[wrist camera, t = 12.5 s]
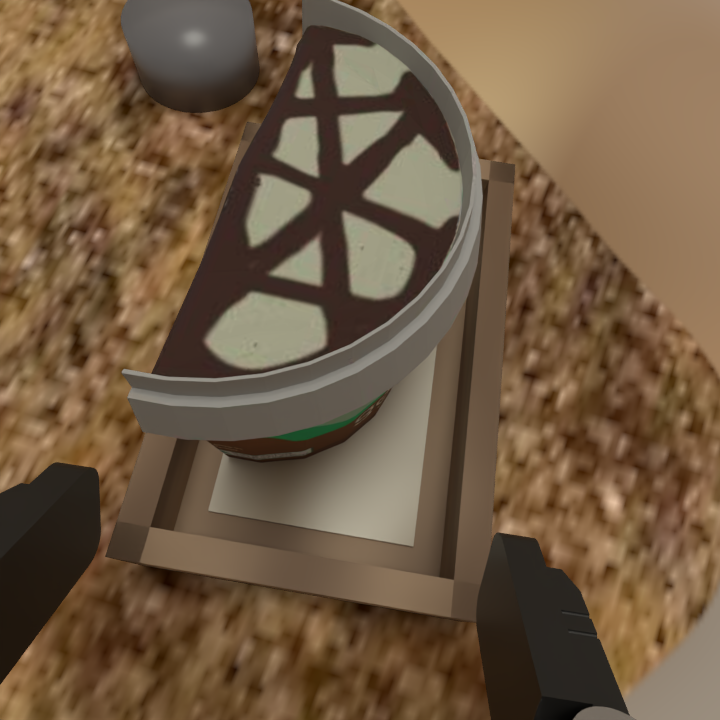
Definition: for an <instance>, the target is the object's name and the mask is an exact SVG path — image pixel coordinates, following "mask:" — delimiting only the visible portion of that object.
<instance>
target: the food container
mask: <svg viewBox="0 0 720 720" xmlns="http://www.w3.org/2000/svg"><path fill="white" fill-rule="evenodd" d="M302 25H303V36H302V39H301V40H300V41H299V43H298V44H297V48H296V53H295V56H294V58H293V61H292V64H291V66H290V69H289V71H288V73H287V75H286V77H285V79H284V81H283V83H282V86H281V88H280V90H279V92H278V94H277V96H276V98H275V100H274V102H273V104H272V106H271V108H270V110H269V112H268V114H267V116H266V117H265V119H264V121H263V122H262V124H261V126H260V128H259V129H258V131H257V133H256V134H255V136H254V138H253V140H252V141H251V143H250V145H249V147H248V149H247V151H246V153H245V155H244V156H243V158H242V160H241V162H240V164H239V166H238V168H237V171H236V173H235V176H234V179H233V181H232V184H231V186H230V189H229V191H228V194H227V197H226V199H225V202H224V205H223V208H222V211H221V213H220V216H219V219H218V221H217V224H216V226H215V229H214V231H213V234H212V236H211V239H210V241H209V244H208V246H207V249H206V251H205V254H204V256H203V259H202V261H201V264H200V266H199V269H198V271H197V273H196V275H195V278H194V280H193V282H192V284H191V287H190V289H189V291H188V293H187V295H186V298H185V300H184V302H183V304H182V307H181V309H180V311H179V313H178V316H177V318H176V320H175V322H174V325H173V327H172V329H171V331H170V333H169V336H168V338H167V340H166V342H165V345H164V347H163V349H162V351H161V353H160V356H159V358H158V360H157V362H156V365H155V367H154V369H153V371H152V373H151V374H149V373H144V372H138V371H132V370H127V369H123V371H122V374H123V376H124V377H125V378H126V380H127V381H128V382H129V384H130V385H131V386H132V389H131V391H130V392H129V395H128V397H127V398H128V401H129V403H130V405H131V407H132V409H133V411H134V414H135V416H136V418H137V420H138V422H139V425H140V427H141V429H142V431H143V432H146V433H152V434H157V435H163V436H168V437H174V438H179V439H185V440H206V441H208V442H209V443H210V444H212V445H213V446H214V447H216V448H217V449H218V450H220V451H221V452H223V453H224V454H225V455H227V456H228V457H232V458H237V459H243V460H248V461H254V462H259V463H264V462H274V461H285V460H296V459H305V458H308V457H310V456H312V455H315V454H317V453H320V452H322V451H324V450H327V449H329V448H332V447H334V446H336V445H339V444H341V443H344V442H345V441H346V440H348V439H349V438H350V437H351V436H352V435H353V434H355V433H356V432H357V431H358V430H359V429H360V428H362V427H363V426H364V425H365V424H366V423H367V422H369V421H370V420H371V419H372V418H373V417H374V416H375V415H376V413H377V412H378V410H379V408H380V407H381V405H382V404H383V402H384V400H385V399H386V397H387V396H388V394H389V392H390V391H391V389H392V387H393V386H395V385H396V384H398V383H399V382H400V381H401V380H402V379H404V378H405V377H406V376H407V375H408V374H409V373H410V372H411V371H413V370H414V369H415V368H416V367H417V366H418V365H419V364H420V363H421V362H423V361H424V360H425V359H426V358H427V357H428V356H429V355H430V353H431V352H432V351H433V350H434V348H435V347H436V346H437V344H438V343H439V342H440V341H441V339H442V338H443V337H444V336H445V334H446V333H447V332H448V331H449V329H450V328H451V326H452V325H453V323H454V321H455V319H456V317H457V315H458V313H459V311H460V310H461V308H462V306H463V304H464V302H465V300H466V298H467V296H468V293H469V290H470V287H471V283H472V280H473V277H474V274H475V271H476V267H477V263H478V254H479V245H480V236H481V220H482V201H483V194H482V181H481V169H480V163H479V159H478V156H477V152H476V149H475V144H474V141H473V137H472V134H471V130H470V127H469V123H468V120H467V116H466V114H465V112H464V110H463V108H462V106H461V104H460V102H459V100H458V98H457V96H456V94H455V92H454V90H453V88H452V87H451V86H450V84H449V83H448V81H447V80H446V79H445V77H444V76H443V75H442V73H441V72H440V70H439V69H438V68H437V66H436V65H435V64H434V63H433V62H432V61H431V60H430V59H429V58H428V57H427V56H426V55H425V54H424V53H423V52H422V51H421V50H420V49H419V48H418V47H417V46H416V45H415V44H414V43H412V42H411V41H410V40H408V39H407V38H405V37H404V36H403V35H401V34H400V33H399V32H397V31H396V30H395V29H393V28H392V27H391V26H389V25H387V24H386V23H384V22H382V21H380V20H378V19H377V18H375V17H373V16H371V15H369V14H368V13H366V12H364V11H362V10H360V9H357V8H355V7H352V6H350V5H347V4H345V3H342V2H340V1H337V0H302Z"/></svg>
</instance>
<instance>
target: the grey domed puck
mask: <svg viewBox="0 0 720 720" xmlns="http://www.w3.org/2000/svg"><path fill="white" fill-rule="evenodd" d="M121 25H122V29H123V32H124V35H125V38H126V41H127V43H128V46H129V49H130V52H131V54H132V57H133V60H134V63H135V66H136V68H137V71H138V74H139V77H140V80H141V82H142V85H143V87H144V89H145V90H146V92H147V93H148V94H149V95H150V96H151V97H152V98H153V99H154V100H155V101H157V102H158V103H160V104H162V105H164V106H166V107H168V108H171V109H174V110H178V111H182V112H190V113H202V112H211V111H216V110H220V109H223V108H226V107H228V106H231V105H233V104H235V103H236V102H238V101H240V100H241V99H243V98H244V97H245V96H246V95H247V94H248V93H249V92H250V91H251V90H252V89H253V87H254V85H255V84H256V82H257V79H258V76H259V61H258V53H257V45H256V38H255V30H254V22H253V15H252V8H251V5H250V3H249V1H248V0H128V1H127V2H126V4H125V6H124V8H123V11H122V15H121Z"/></svg>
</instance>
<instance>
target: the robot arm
mask: <svg viewBox="0 0 720 720" xmlns="http://www.w3.org/2000/svg"><path fill="white" fill-rule="evenodd" d="M100 534H101V523H100V495H99V476H98V472H97V470H96V469H94V468H90V467H84V466H78V465H71V464H65V463H58V462H56V463H53V464H51V465H50V466H49V467H48V468H47V469H46V470H44V471H43V472H42V473H41V474H40V475H39V476H38V477H37V478H36V479H35V480H34V481H32V482H31V483H30V484H24V483H21V484H19V485H17V486H14V487H12V488H10V489H8V490H6V491H4V492H2V493H0V684H1V683H2V682H3V680H4V679H5V678H6V676H7V675H8V674H9V672H10V671H11V670H12V668H13V667H14V666H15V664H16V663H17V661H18V660H19V659H20V657H21V656H22V655H23V653H24V652H25V651H26V649H27V648H28V647H29V645H30V644H31V643H32V641H33V640H34V639H35V637H36V636H37V635H38V633H39V632H40V631H41V629H42V628H43V627H44V625H45V624H46V623H47V621H48V620H49V618H50V617H51V616H52V614H53V613H54V612H55V610H56V609H57V608H58V606H59V605H60V604H61V602H62V601H63V600H64V598H65V597H66V596H67V594H68V593H69V592H70V590H71V589H72V588H73V586H74V585H75V584H76V582H77V581H78V579H79V578H80V577H81V575H82V574H83V573H84V571H85V570H86V569H87V567H88V566H89V565H90V563H91V562H92V560H93V558H94V556H95V554H96V551H97V548H98V545H99V541H100ZM476 624H477V632H478V638H479V645H480V651H481V658H482V664H483V670H484V677H485V683H486V690H487V696H488V703H489V709H490V716H491V720H635V719H634V718H632V717H631V716H630V715H629V713H628V710H627V707H626V705H625V702H624V700H623V697H622V695H621V692H620V690H619V687H618V685H617V682H616V680H615V677H614V675H613V672H612V670H611V667H610V665H609V662H608V660H607V657H606V655H605V652H604V650H603V647H602V645H601V642H600V640H599V639H597V632H596V630H595V627H594V625H593V622H592V620H591V619H589V612H588V610H587V607H586V605H585V602H584V600H583V597H582V594H581V592H580V590H579V589H578V588H577V587H576V586H575V585H574V583H573V582H572V581H571V580H570V579H569V578H568V576H567V575H566V574H565V573H564V572H563V571H562V570H561V569H555V568H549V567H546V564H545V561H544V558H543V555H542V552H541V550H540V547H539V544H538V541H537V540H536V539H535V538H529V537H523V536H517V535H510V534H504V533H496V534H495V536H494V538H493V541H492V545H491V548H490V552H489V556H488V560H487V563H486V567H485V571H484V574H483V578H482V582H481V585H480V589H479V593H478V598H477V608H476Z"/></svg>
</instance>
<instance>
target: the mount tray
mask: <svg viewBox="0 0 720 720" xmlns="http://www.w3.org/2000/svg"><path fill="white" fill-rule="evenodd" d="M260 126H261V124H258V123H252V122H247V124H246V127H245V130H244V133H243V136H242V139H241V142H240V145H239V148H238V151H237V154H236V157H235V160H234V164H233V167H232V170H231V173H230V176H229V179H228V182H227V185H226V188H225V191H224V194H223V197H222V200H221V203H220V206H219V209H218V213H217V216H216V219H215V222H214V225H213V228H212V231H211V234H210V237H209V240H208V243H207V246H208V244H209V241H210V239H211V236H212V234H213V231H214V229H215V226H216V224H217V221H218V219H219V216H220V213H221V211H222V208H223V205H224V202H225V199H226V197H227V194H228V191H229V189H230V186H231V184H232V181H233V179H234V176H235V173H236V171H237V168H238V166H239V164H240V162H241V160H242V158H243V156H244V155H245V153H246V151H247V149H248V147H249V145H250V143H251V141H252V140H253V138H254V136H255V134H256V133H257V131H258V129H259V128H260ZM479 163H480V169H481V181H482V194H483V201H482V220H481V236H480V245H479V254H478V263H477V267H476V271H475V274H474V277H473V280H472V283H471V287H470V290H469V293H468V296H467V298H466V300H465V302H464V304H463V306H462V308H461V310H460V311H459V313H458V315H457V317H456V319H455V321H454V323H453V325H452V326H451V328H450V329H449V331H448V332H447V333H446V334H445V336H444V337H443V338H442V339H441V341H440V342H439V343H438V344H437V346H436V347H435V348H434V350H433V351H432V352H431V353H430V355H429V356H428V357H427V358H426V359H425V360H424V361H423V362H421V363H420V364H419V365H418V366H417V367H416V368H415V369H414V370H413V371H411V372H410V373H409V374H408V375H407V376H406V377H405V378H404V379H402V380H401V381H400V382H399V383H398V384H396V385H395V386H393V387H392V389H391V391H390V392H389V394H388V396H387V397H386V399H385V400H384V402H383V404H382V405H381V407H380V408H379V410H378V412H377V413H376V415H375V416H374V417H373V418H372V419H371V420H370V421H369V422H367V423H366V424H365V425H364V426H363V427H362V428H360V429H359V430H358V431H357V432H356V433H355V434H353V435H352V436H351V437H350V438H349V439H348V440H346V441H345V442H344V443H341V444H339V445H336V446H334V447H332V448H329V449H327V450H324V451H322V452H320V453H317V454H315V455H312V456H310V457H308V458H305V459H296V460H285V461H274V462H264V463H259V462H254V461H248V460H243V459H237V458H232V457H228V456H227V455H225V454H224V453H223V452H221V451H220V450H218V449H217V448H216V447H214V446H213V445H212V444H210V443H209V442H208V441H206V440H185V439H179V438H174V437H168V436H163V435H157V434H152V433H145V436H144V439H143V443H142V446H141V449H140V452H139V455H138V458H137V461H136V464H135V467H134V470H133V473H132V476H131V479H130V482H129V485H128V489H127V492H126V495H125V498H124V501H123V504H122V507H121V510H120V513H119V516H118V519H117V522H116V525H115V528H114V531H113V534H112V538H111V541H110V544H109V547H108V550H107V553H106V556H105V557H109V558H113V559H117V560H122V561H126V562H130V563H135V564H139V565H144V566H149V567H155V568H161V569H166V570H172V571H178V572H183V573H189V574H195V575H200V576H206V577H212V578H218V579H223V580H229V581H235V582H240V583H246V584H252V585H257V586H263V587H269V588H274V589H280V590H286V591H291V592H297V593H303V594H308V595H314V596H320V597H325V598H331V599H337V600H343V601H348V602H354V603H360V604H365V605H371V606H377V607H382V608H388V609H394V610H399V611H405V612H411V613H416V614H422V615H428V616H433V617H439V618H445V619H451V620H456V621H464V622H474V623H476V608H477V598H478V593H479V589H480V585H481V582H482V578H483V574H484V571H485V567H486V563H487V560H488V556H489V552H490V548H491V534H492V518H493V503H494V487H495V471H496V456H497V440H498V425H499V409H500V394H501V378H502V362H503V347H504V331H505V316H506V300H507V284H508V269H509V253H510V238H511V222H512V207H513V191H514V175H515V165H514V164H508V163H502V162H495V161H489V160H483V159H479ZM207 246H206V249H207ZM206 249H205V251H206ZM204 254H205V252H204ZM203 256H204V255H203Z"/></svg>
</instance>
